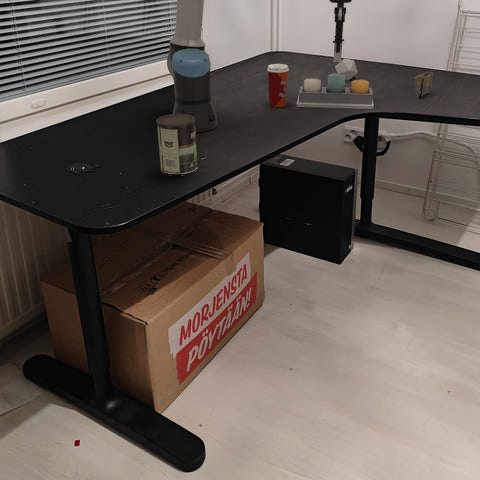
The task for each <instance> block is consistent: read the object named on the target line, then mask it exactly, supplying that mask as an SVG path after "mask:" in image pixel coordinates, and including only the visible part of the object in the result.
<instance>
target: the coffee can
mask: <svg viewBox="0 0 480 480" xmlns="http://www.w3.org/2000/svg"><path fill="white" fill-rule="evenodd" d="M155 122H156V124H157V136H158V137H157V138H158V149H159V159H160V161H159V162H160V171H161V170H162V171H163V172H164V173H168V174H187V173H191V172H193V171H195V170H196V169H197V170H198V168H199V167H197V166H198V159H197V158H198V157H197V139H196V138H197V136H196V135H197V133H195V117H193V116H191V115H187V114H173V113H171V114H166V115H162V116H160V117H158V118H157V119H156V121H155ZM197 170H196V171H197ZM162 171H161V172H162ZM196 171H195V172H196ZM163 172H162V173H163ZM164 173H163V174H164ZM193 173H194V172H193ZM191 174H192V173H191Z"/></svg>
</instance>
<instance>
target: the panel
mask: <svg viewBox="0 0 480 480" xmlns="http://www.w3.org/2000/svg"><path fill="white" fill-rule="evenodd" d="M351 87H352V86H351ZM351 87H349V86H347V87H344V93H327V88H328V86H321V89H320V92H304V85H301V86H300V88H299V92H298V97H297V101H296V107H297V108H298V107H299V108H300V107H301V108H323V109H324V108H325V109H326V108H327V109H329V108H331V109H354V110H355V109H356V110H357V109H358V110H359V109H360V110H374V107H375V105H374V99H373V96H374V94H373V89H372V87H369V88H368V94H356V93H351Z"/></svg>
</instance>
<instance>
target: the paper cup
mask: <svg viewBox="0 0 480 480" xmlns="http://www.w3.org/2000/svg"><path fill="white" fill-rule="evenodd" d="M266 70H267V79H268V102H269V107H271V108H276V107H279V108H284V107H286V97H287V90H288V89H287V88H288V77H289V76H288V75H289V70H290V69H289V66H288V65H287V64H284V63H273V64H269V65H268V66H267V68H266Z"/></svg>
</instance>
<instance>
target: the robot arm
mask: <svg viewBox="0 0 480 480" xmlns="http://www.w3.org/2000/svg"><path fill="white" fill-rule="evenodd" d="M329 2H330V3H331V4H337V5H336V7H334V11H333V14H334V23H335V33H334V40H332V44H333V60H332V61H333V63H340V62H341V61H342V58H343V57H342V55H343V42H345V39H343V33H344V23H345V21H346V14H347V7H346V6H345V4H348V3H349V4H350V3H352V2H353V0H329ZM204 7H205V0H176V14H175V28H174V29H175V30H174V36H173V37H172V38H171V39H170V40H169V53H168V54H167V57H166V66H167V70H168V72H169V74H170V76H171V77H172V80H173V88H174V89H173V90H174V100H175V101H174V107H173V110H172V114H187V115H191V116H193V117H195V133H196V134H197V133H204V132H209V131H211V130H214V129H216V128H217V127H218V117H217V114H216V111H215V108H214V105H213V103H212V86H211V84H212V83H211V82H212V81H211V61H210V56H209V53H207V52H206V51H205V49H206V43H205V42H204V40H203V39H202V32H203V21H204V19H203V17H204Z"/></svg>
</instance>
